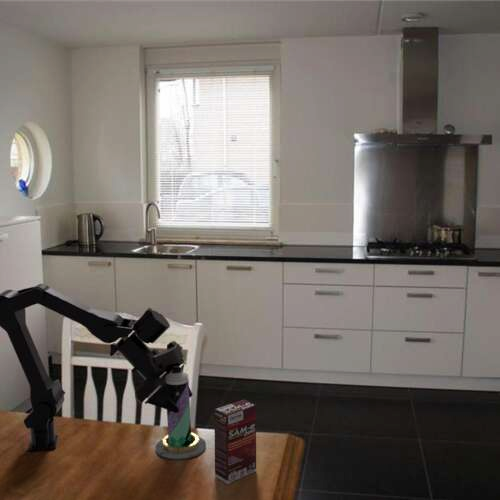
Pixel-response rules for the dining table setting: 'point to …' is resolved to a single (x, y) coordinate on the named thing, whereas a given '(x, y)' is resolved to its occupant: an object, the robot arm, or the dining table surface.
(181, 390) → the spray can
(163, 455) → the dock
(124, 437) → the dining table surface
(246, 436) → the supplement box
